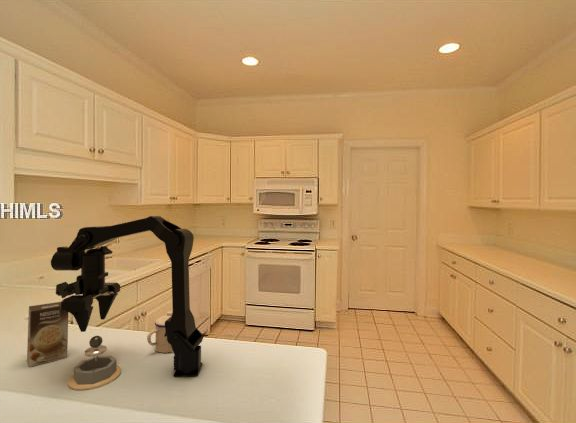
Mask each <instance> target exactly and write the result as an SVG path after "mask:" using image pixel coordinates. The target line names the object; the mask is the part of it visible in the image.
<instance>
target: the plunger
mask: <svg viewBox="0 0 576 423" xmlns="http://www.w3.org/2000/svg"><path fill="white" fill-rule="evenodd" d="M103 341H104V340H103V337H102V336H100V335H94V336H93V337H91V338H90V339H89V341H88V342H89V346H90V347H88V348H87V349H85V350H84V356H86V357H94V362H97V361H98V356H101V355H102V354H105V352H107V351H108V350H107V348H108V347H107V345H103Z"/></svg>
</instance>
